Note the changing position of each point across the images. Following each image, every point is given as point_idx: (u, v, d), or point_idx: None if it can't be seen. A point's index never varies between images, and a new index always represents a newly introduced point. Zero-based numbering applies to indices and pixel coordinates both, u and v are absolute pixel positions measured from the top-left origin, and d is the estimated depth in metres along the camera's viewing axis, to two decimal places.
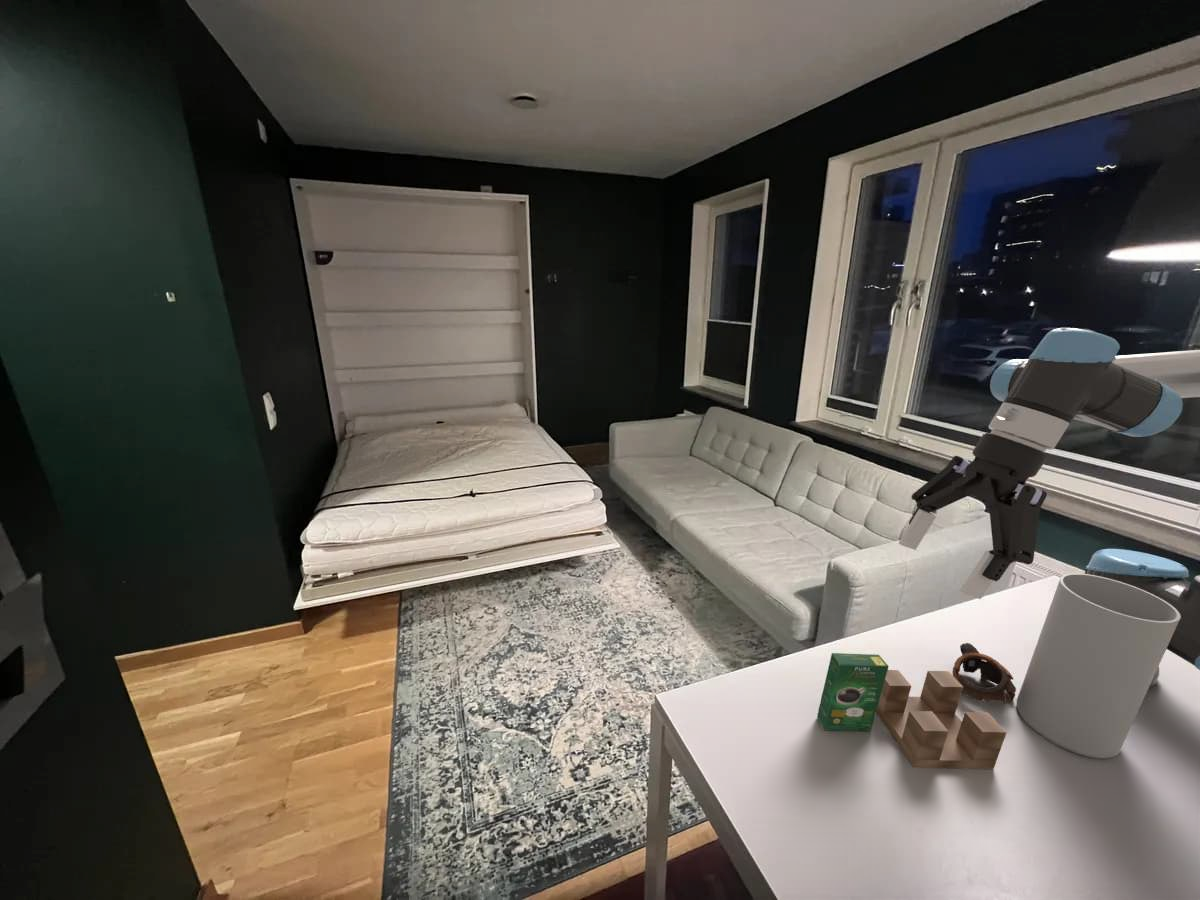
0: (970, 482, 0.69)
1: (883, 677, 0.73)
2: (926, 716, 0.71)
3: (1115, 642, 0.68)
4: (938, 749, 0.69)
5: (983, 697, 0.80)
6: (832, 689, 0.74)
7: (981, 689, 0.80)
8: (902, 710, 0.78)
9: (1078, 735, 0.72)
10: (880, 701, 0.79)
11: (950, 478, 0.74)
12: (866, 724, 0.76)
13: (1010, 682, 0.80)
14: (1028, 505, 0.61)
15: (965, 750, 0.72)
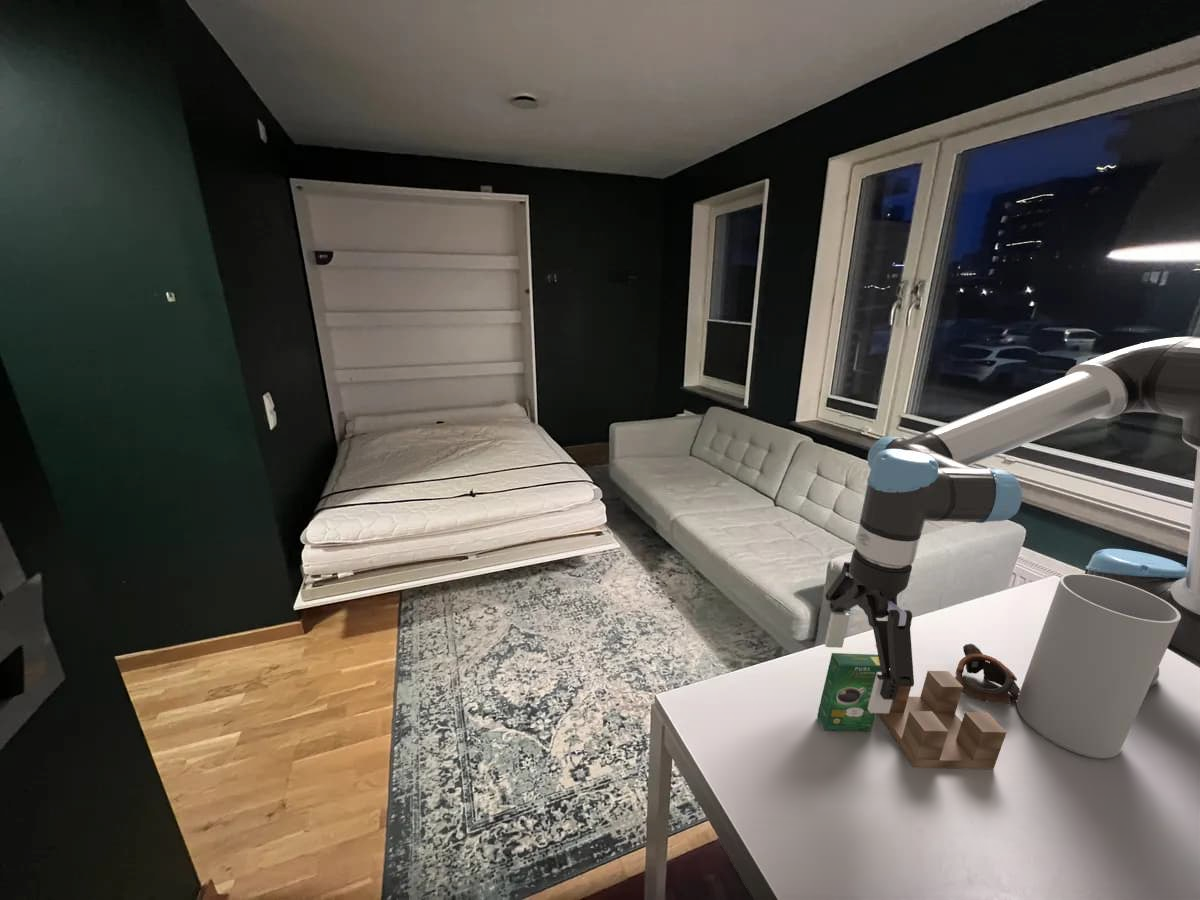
0: (858, 594, 0.72)
1: None
2: (926, 716, 0.71)
3: (1115, 642, 0.68)
4: (938, 749, 0.69)
5: (987, 698, 0.80)
6: (832, 689, 0.74)
7: (985, 690, 0.80)
8: (902, 710, 0.78)
9: (1078, 735, 0.72)
10: None
11: (848, 581, 0.77)
12: (866, 724, 0.76)
13: (1014, 683, 0.80)
14: (897, 629, 0.64)
15: (965, 750, 0.72)
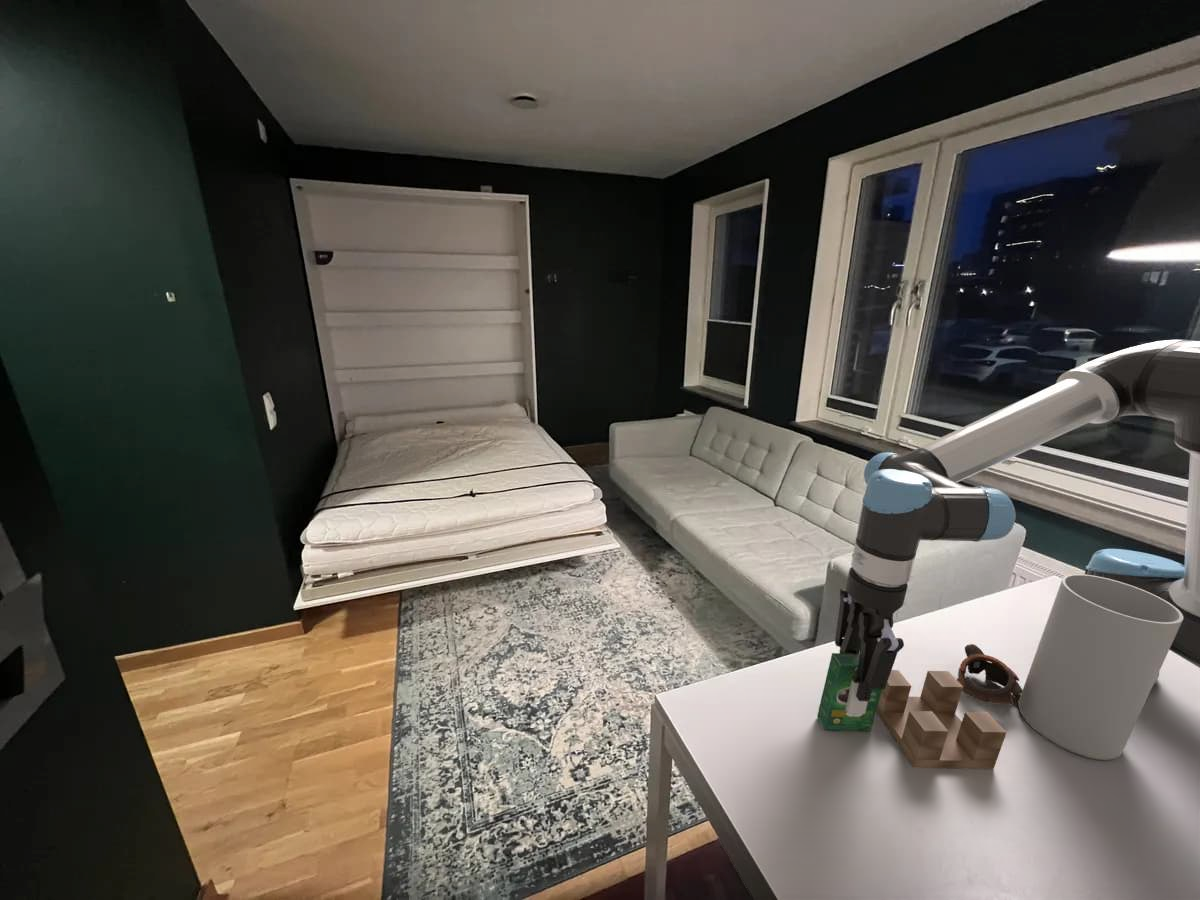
0: (857, 614, 0.72)
1: None
2: (926, 716, 0.71)
3: (1117, 643, 0.67)
4: (938, 749, 0.69)
5: (990, 699, 0.80)
6: (832, 689, 0.74)
7: (988, 691, 0.80)
8: (902, 710, 0.78)
9: (1080, 736, 0.72)
10: (880, 701, 0.79)
11: (850, 612, 0.76)
12: (866, 724, 0.76)
13: (1016, 683, 0.80)
14: (884, 653, 0.66)
15: (965, 750, 0.72)
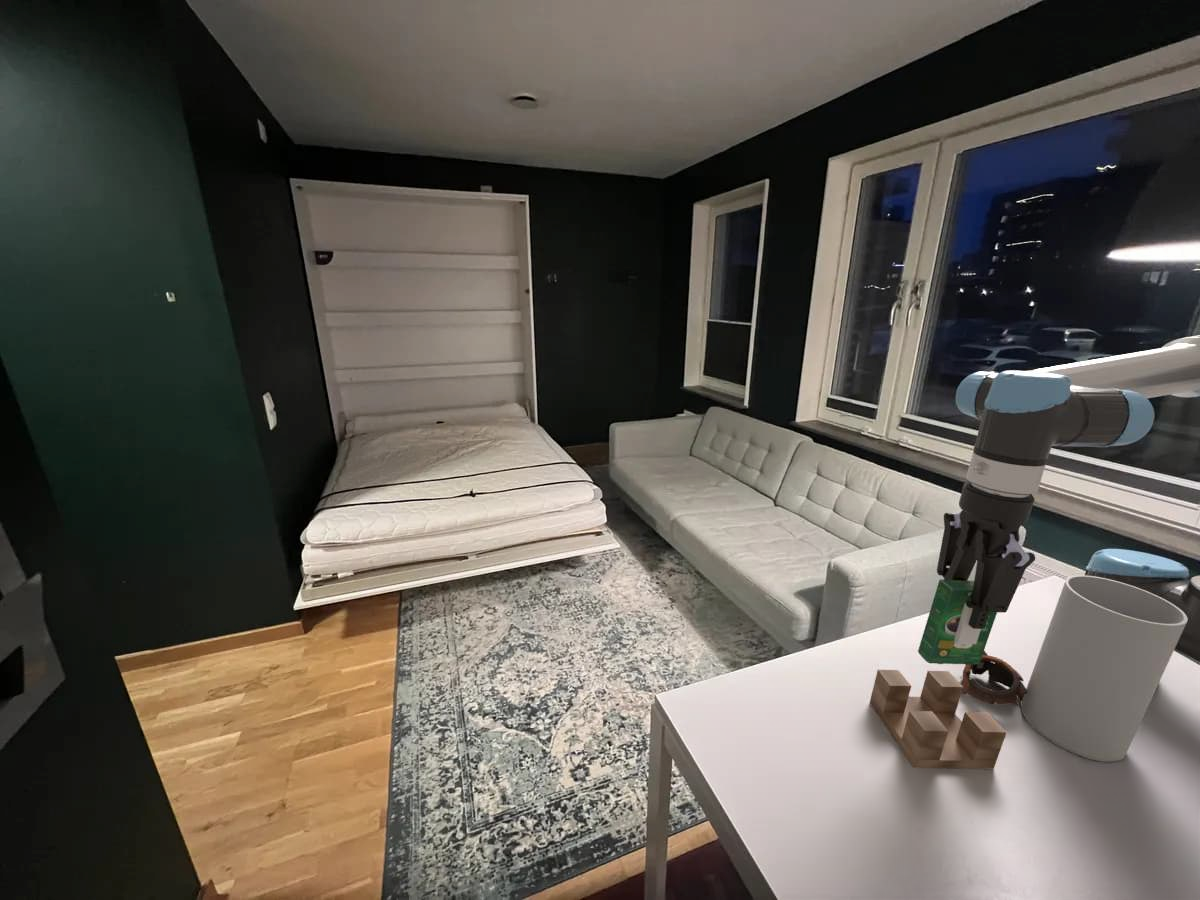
0: (970, 535, 0.67)
1: None
2: (926, 716, 0.71)
3: (1120, 644, 0.67)
4: (938, 749, 0.69)
5: (996, 700, 0.80)
6: (941, 618, 0.69)
7: (993, 692, 0.80)
8: (902, 710, 0.78)
9: (1082, 738, 0.72)
10: (880, 701, 0.79)
11: (956, 537, 0.71)
12: (975, 657, 0.70)
13: (1021, 684, 0.80)
14: (1011, 569, 0.61)
15: (965, 750, 0.72)
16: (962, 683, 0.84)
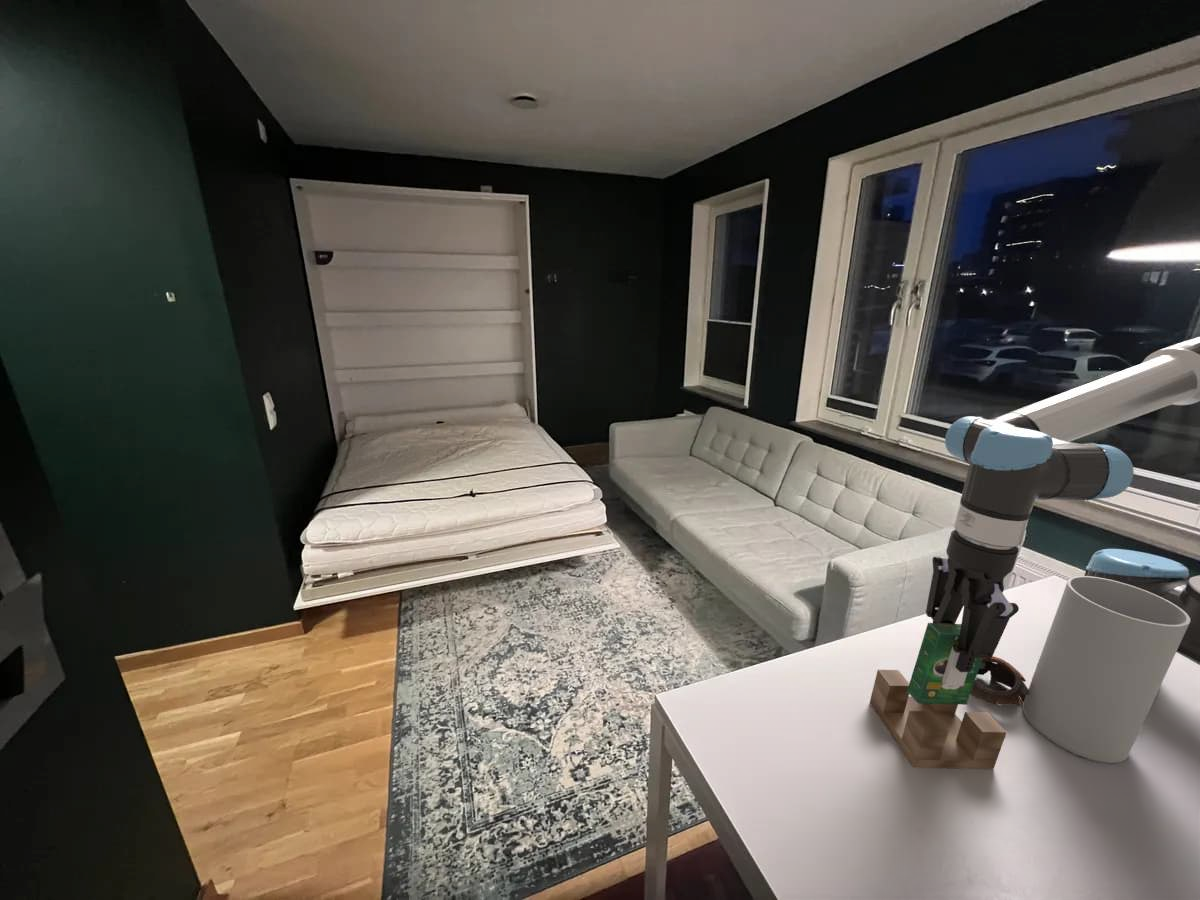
0: (958, 581, 0.69)
1: None
2: (926, 716, 0.71)
3: (1121, 645, 0.67)
4: (938, 749, 0.69)
5: (997, 701, 0.80)
6: (929, 660, 0.71)
7: (995, 692, 0.80)
8: (902, 710, 0.78)
9: (1084, 738, 0.72)
10: (880, 701, 0.79)
11: (944, 580, 0.73)
12: (962, 697, 0.72)
13: (1023, 684, 0.80)
14: (996, 619, 0.63)
15: (965, 750, 0.72)
16: None
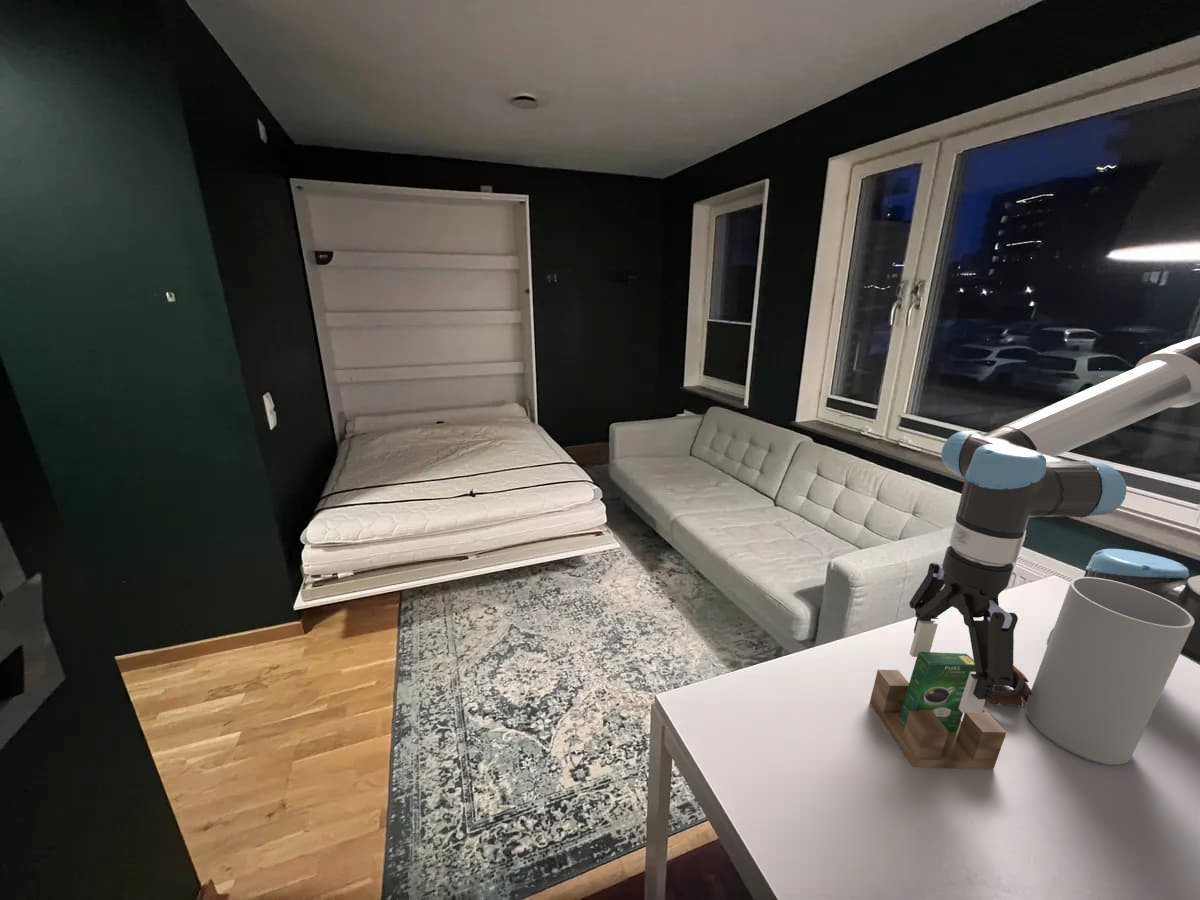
0: (951, 594, 0.70)
1: None
2: (926, 716, 0.71)
3: (1123, 646, 0.67)
4: (938, 749, 0.69)
5: (1000, 701, 0.80)
6: (919, 689, 0.73)
7: (998, 693, 0.79)
8: None
9: (1085, 740, 0.72)
10: (880, 701, 0.79)
11: (935, 584, 0.75)
12: (952, 725, 0.74)
13: (1026, 685, 0.80)
14: (1000, 632, 0.62)
15: (965, 750, 0.72)
16: None
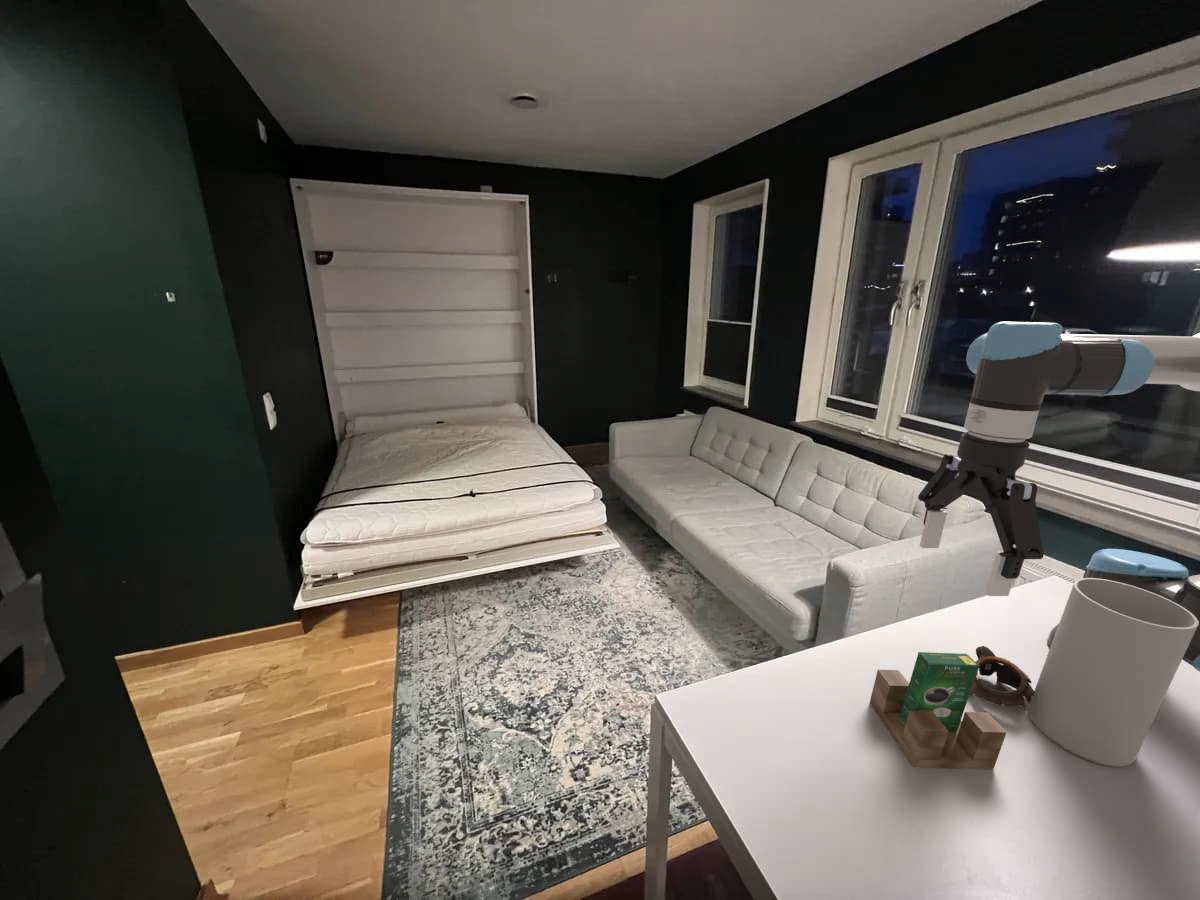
0: (965, 482, 0.70)
1: (973, 677, 0.72)
2: (926, 716, 0.71)
3: (1126, 647, 0.67)
4: (938, 749, 0.69)
5: (1002, 701, 0.80)
6: (919, 689, 0.73)
7: (1000, 693, 0.79)
8: None
9: (1088, 741, 0.71)
10: (880, 701, 0.79)
11: (947, 475, 0.75)
12: (952, 725, 0.74)
13: (1029, 686, 0.80)
14: (1022, 502, 0.62)
15: (965, 750, 0.72)
16: None
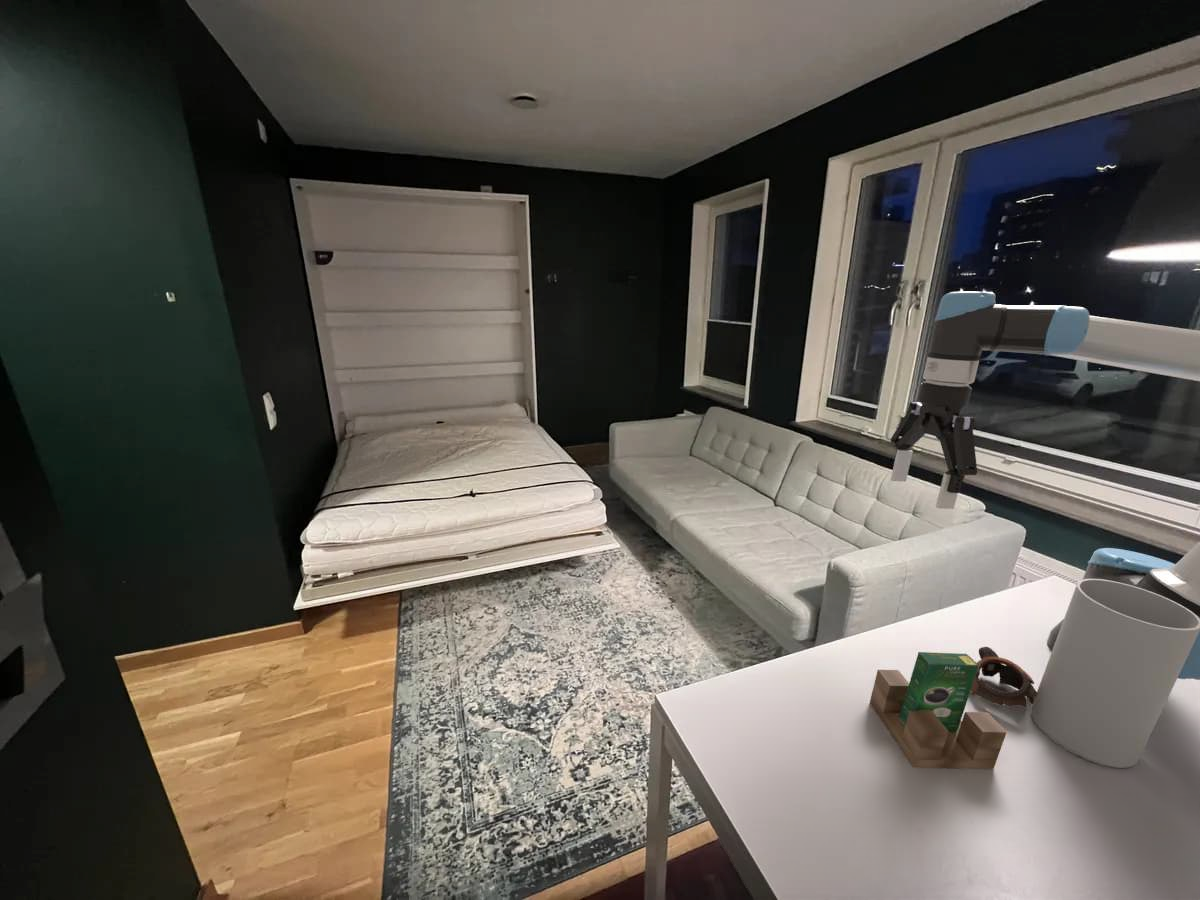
0: (924, 422, 0.88)
1: (973, 677, 0.72)
2: (926, 716, 0.71)
3: (1129, 648, 0.66)
4: (938, 749, 0.69)
5: (1004, 702, 0.80)
6: (919, 689, 0.73)
7: (1002, 693, 0.79)
8: None
9: (1090, 742, 0.71)
10: (880, 701, 0.79)
11: (913, 420, 0.93)
12: (952, 725, 0.74)
13: (1031, 686, 0.80)
14: (962, 431, 0.80)
15: (965, 750, 0.72)
16: None
